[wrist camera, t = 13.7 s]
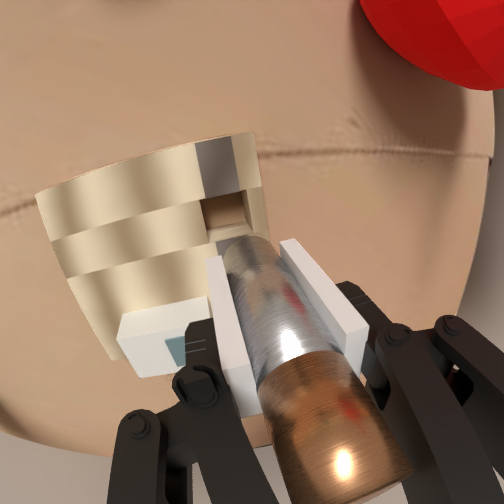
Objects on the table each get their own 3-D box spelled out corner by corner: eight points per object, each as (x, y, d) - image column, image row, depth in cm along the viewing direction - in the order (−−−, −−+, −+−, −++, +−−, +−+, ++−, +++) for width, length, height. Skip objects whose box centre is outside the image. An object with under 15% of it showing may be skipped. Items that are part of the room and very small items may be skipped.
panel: (116, 341, 27) (111, 361, 25) (50, 186, 19) (33, 195, 16) (272, 307, 30) (281, 326, 27) (245, 131, 22) (254, 132, 19)
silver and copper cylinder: (228, 290, 15) (298, 526, 4) (217, 242, 14) (297, 517, 3) (278, 277, 15) (395, 487, 5) (272, 230, 14) (432, 455, 3)
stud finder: (142, 352, 25) (139, 379, 22) (122, 313, 23) (115, 341, 20) (219, 336, 26) (224, 364, 23) (206, 295, 24) (210, 322, 20)
